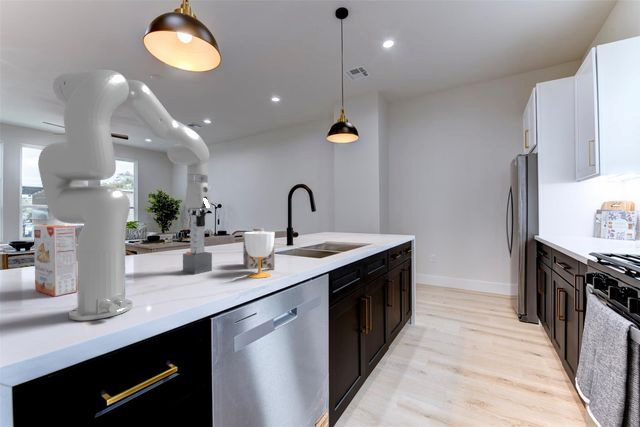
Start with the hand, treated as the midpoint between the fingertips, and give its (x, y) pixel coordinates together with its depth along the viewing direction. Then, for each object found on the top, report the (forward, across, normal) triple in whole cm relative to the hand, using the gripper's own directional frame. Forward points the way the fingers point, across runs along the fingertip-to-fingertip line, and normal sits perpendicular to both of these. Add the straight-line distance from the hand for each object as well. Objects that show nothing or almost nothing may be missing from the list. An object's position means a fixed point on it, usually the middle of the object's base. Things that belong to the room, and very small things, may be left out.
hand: (197, 225), depth 111 cm
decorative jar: (+20, -12, -22) cm, 32 cm away
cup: (+20, -22, -12) cm, 32 cm away
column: (+16, 0, 0) cm, 16 cm away
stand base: (+20, 0, 0) cm, 20 cm away
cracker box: (+20, +17, +38) cm, 46 cm away
